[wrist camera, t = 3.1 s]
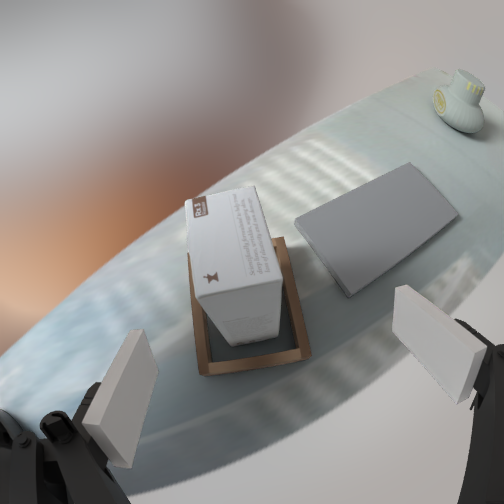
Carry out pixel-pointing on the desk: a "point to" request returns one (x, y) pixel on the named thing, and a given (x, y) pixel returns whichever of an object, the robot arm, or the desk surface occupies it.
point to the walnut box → (264, 360)
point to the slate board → (375, 226)
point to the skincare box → (234, 265)
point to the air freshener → (461, 102)
